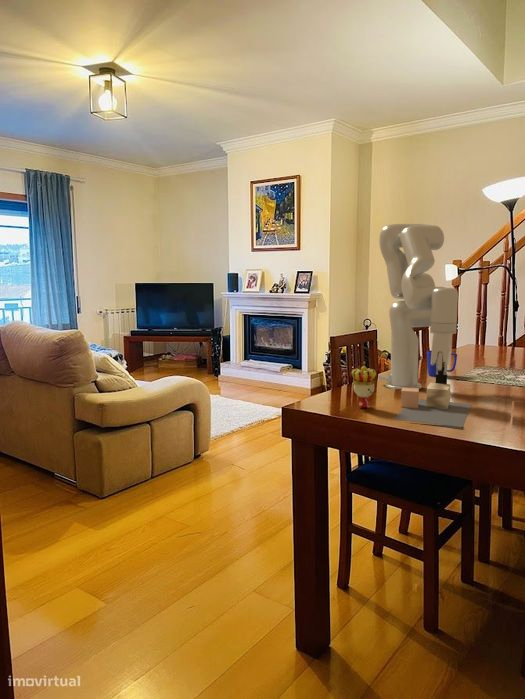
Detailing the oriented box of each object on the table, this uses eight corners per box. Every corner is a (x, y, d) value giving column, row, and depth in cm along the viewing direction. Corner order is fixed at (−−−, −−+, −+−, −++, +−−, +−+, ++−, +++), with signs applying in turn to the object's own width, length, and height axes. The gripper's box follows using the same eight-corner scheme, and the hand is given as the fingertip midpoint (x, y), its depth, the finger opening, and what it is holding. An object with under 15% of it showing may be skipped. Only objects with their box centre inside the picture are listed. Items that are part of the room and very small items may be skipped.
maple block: (426, 407, 155) (426, 388, 153) (429, 400, 160) (430, 382, 158) (447, 409, 152) (447, 390, 151) (450, 402, 157) (450, 384, 156)
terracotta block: (400, 406, 155) (401, 390, 155) (401, 403, 160) (401, 387, 159) (418, 408, 154) (418, 391, 153) (418, 404, 159) (418, 388, 158)
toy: (370, 414, 150) (371, 363, 148) (347, 411, 153) (348, 361, 151) (378, 408, 156) (379, 360, 154) (356, 406, 159) (357, 358, 157)
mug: (459, 377, 205) (460, 352, 204) (429, 377, 206) (430, 353, 204) (452, 373, 213) (453, 350, 212) (423, 374, 214) (424, 350, 212)
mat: (392, 421, 142) (393, 419, 141) (412, 400, 166) (412, 398, 166) (462, 429, 133) (462, 427, 133) (471, 406, 158) (472, 404, 158)
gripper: (434, 325, 164) (432, 381, 167) (426, 330, 151) (424, 390, 154) (458, 326, 161) (456, 383, 164) (453, 331, 148) (450, 392, 150)
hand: (441, 386), depth 159 cm, fingers closed
